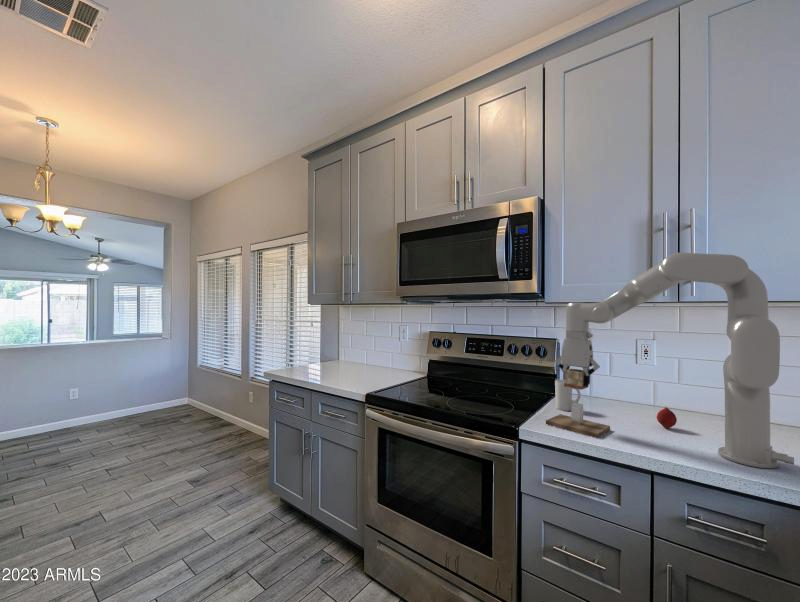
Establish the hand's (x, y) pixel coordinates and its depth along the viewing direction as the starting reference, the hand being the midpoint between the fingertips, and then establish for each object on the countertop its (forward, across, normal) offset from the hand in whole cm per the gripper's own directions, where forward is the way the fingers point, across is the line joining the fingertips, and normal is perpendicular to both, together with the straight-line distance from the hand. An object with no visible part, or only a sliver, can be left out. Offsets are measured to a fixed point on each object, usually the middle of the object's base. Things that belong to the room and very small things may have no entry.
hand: (576, 383), depth 130 cm
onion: (+16, -23, -24) cm, 37 cm away
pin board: (+16, -1, 0) cm, 16 cm away
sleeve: (+1, 0, 0) cm, 1 cm away
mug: (+16, +11, -20) cm, 28 cm away
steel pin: (+14, -1, 0) cm, 15 cm away
